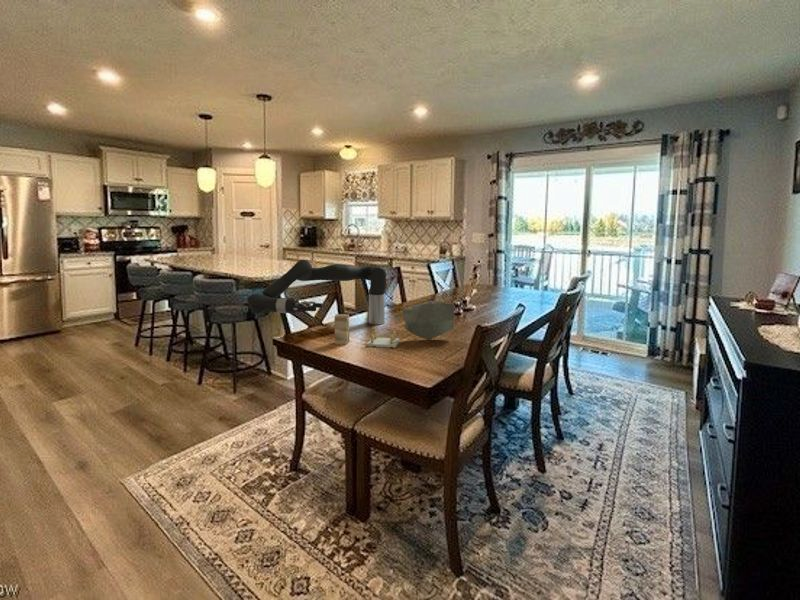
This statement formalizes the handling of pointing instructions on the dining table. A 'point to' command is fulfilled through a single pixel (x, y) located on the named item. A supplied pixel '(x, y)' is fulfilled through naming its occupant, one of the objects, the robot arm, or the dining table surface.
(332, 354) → the dining table surface
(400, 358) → the dining table surface
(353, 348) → the dining table surface
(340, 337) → the tan wooden block
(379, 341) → the peg board
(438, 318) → the rock
